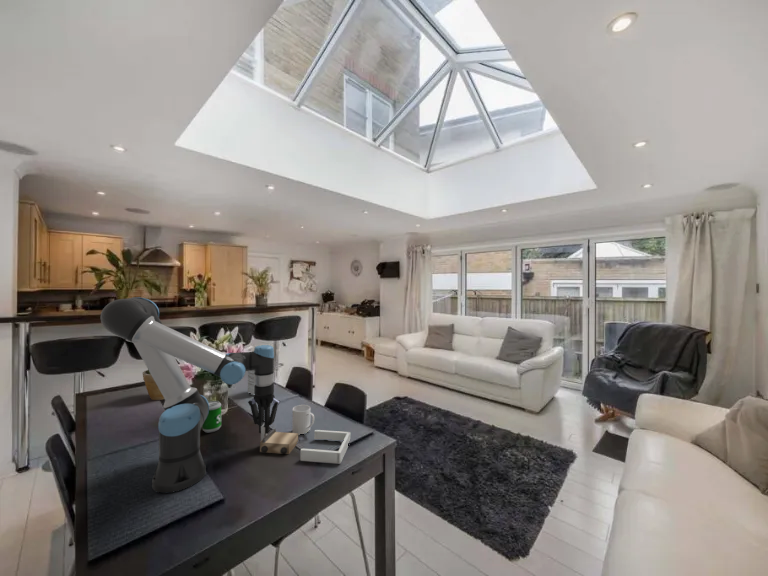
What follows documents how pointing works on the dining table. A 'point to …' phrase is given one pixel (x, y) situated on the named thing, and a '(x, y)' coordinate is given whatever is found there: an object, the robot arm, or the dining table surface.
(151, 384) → the potted plant
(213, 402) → the soda can
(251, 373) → the supplement box
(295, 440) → the trolley
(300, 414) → the mug
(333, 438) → the bay
